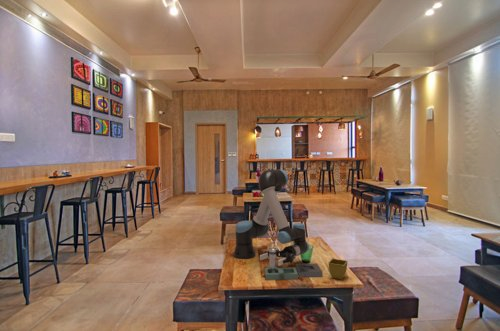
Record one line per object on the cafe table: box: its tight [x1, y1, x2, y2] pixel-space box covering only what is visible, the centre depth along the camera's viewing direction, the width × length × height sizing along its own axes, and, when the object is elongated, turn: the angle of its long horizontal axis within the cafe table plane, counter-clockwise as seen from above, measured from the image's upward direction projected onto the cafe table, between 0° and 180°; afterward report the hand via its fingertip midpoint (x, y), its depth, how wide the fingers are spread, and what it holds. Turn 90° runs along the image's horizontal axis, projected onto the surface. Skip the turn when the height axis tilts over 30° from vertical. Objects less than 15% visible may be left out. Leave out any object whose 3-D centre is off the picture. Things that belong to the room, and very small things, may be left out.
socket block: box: [295, 263, 323, 278], centre depth 177 cm, size 13×13×3 cm
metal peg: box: [268, 247, 277, 273], centre depth 173 cm, size 4×4×16 cm
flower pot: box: [327, 258, 348, 280], centre depth 169 cm, size 9×9×9 cm
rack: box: [264, 266, 299, 281], centre depth 173 cm, size 10×18×3 cm, turn 91°
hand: (269, 260), depth 170 cm, fingers open, 13 cm apart
